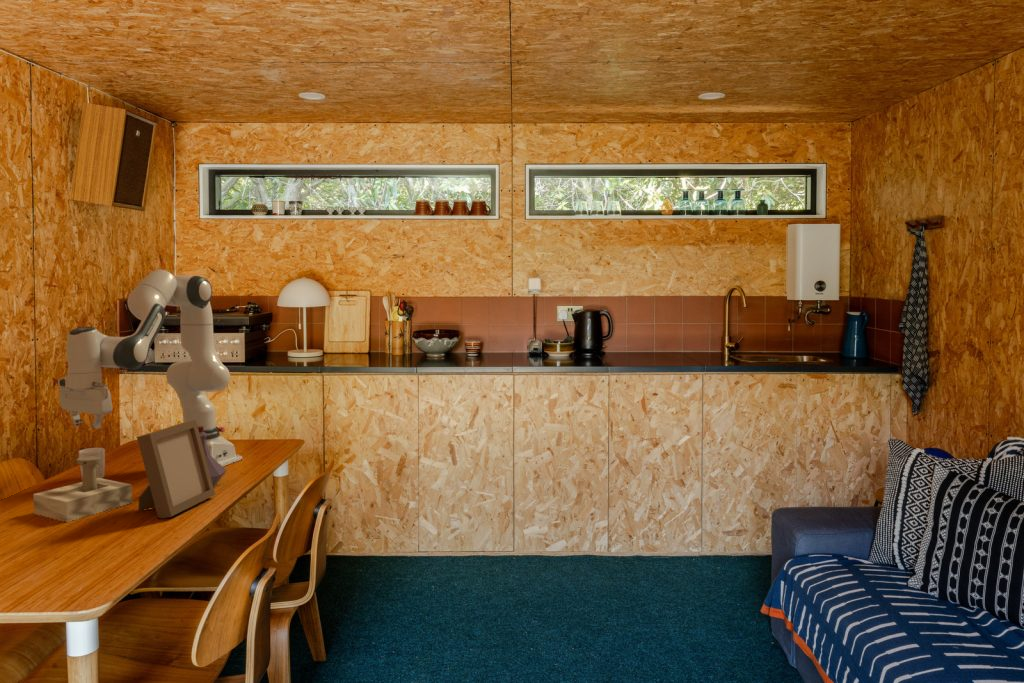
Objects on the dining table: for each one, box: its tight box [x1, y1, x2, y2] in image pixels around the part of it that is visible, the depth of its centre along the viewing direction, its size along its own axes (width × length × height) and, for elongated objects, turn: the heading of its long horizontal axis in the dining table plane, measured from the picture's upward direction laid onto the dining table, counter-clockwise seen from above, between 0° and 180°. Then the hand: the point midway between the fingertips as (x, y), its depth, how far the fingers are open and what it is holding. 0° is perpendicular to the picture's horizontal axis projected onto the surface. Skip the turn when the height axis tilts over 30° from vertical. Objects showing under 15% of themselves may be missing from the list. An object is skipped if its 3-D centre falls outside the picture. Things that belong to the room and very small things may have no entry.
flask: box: [198, 426, 228, 487], centre depth 244 cm, size 16×16×20 cm
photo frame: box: [136, 420, 216, 519], centre depth 220 cm, size 15×22×25 cm
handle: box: [75, 456, 101, 492], centre depth 220 cm, size 5×6×15 cm
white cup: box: [78, 447, 106, 480], centre depth 252 cm, size 8×8×10 cm
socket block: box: [32, 478, 133, 523], centre depth 219 cm, size 20×16×6 cm
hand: (87, 426), depth 219 cm, fingers open, 8 cm apart
